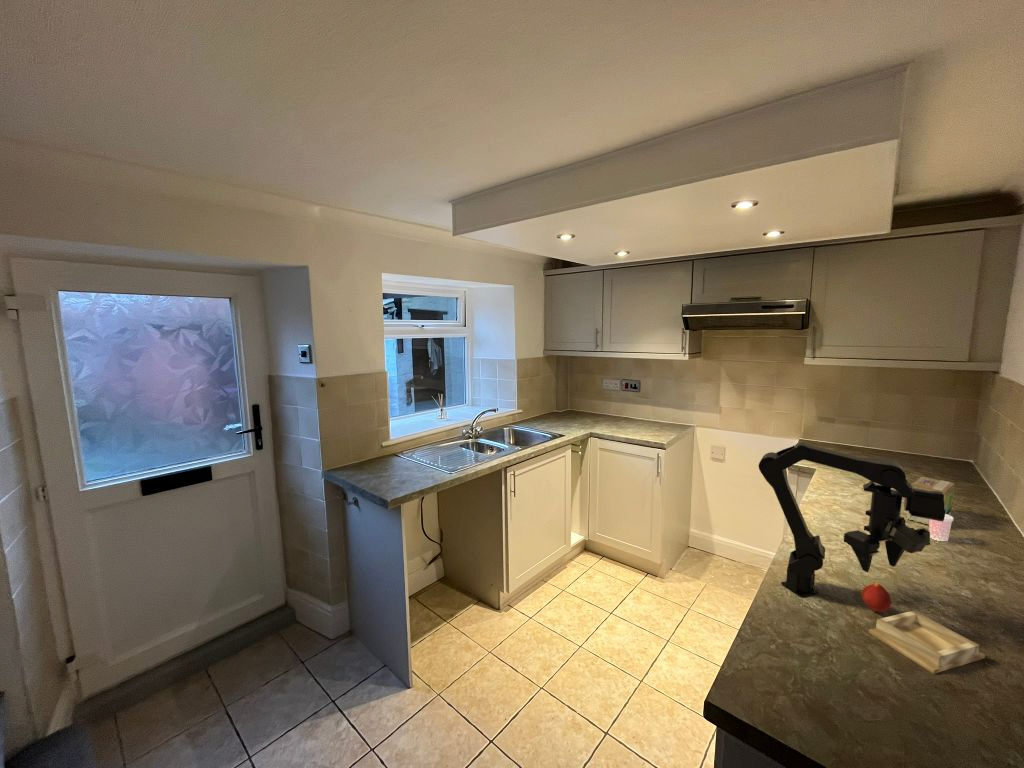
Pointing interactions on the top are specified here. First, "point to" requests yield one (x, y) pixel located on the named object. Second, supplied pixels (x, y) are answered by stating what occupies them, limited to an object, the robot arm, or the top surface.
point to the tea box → (935, 485)
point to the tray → (926, 641)
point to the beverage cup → (940, 528)
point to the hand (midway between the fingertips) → (878, 568)
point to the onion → (876, 597)
